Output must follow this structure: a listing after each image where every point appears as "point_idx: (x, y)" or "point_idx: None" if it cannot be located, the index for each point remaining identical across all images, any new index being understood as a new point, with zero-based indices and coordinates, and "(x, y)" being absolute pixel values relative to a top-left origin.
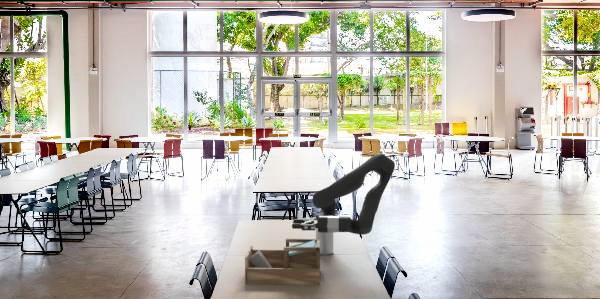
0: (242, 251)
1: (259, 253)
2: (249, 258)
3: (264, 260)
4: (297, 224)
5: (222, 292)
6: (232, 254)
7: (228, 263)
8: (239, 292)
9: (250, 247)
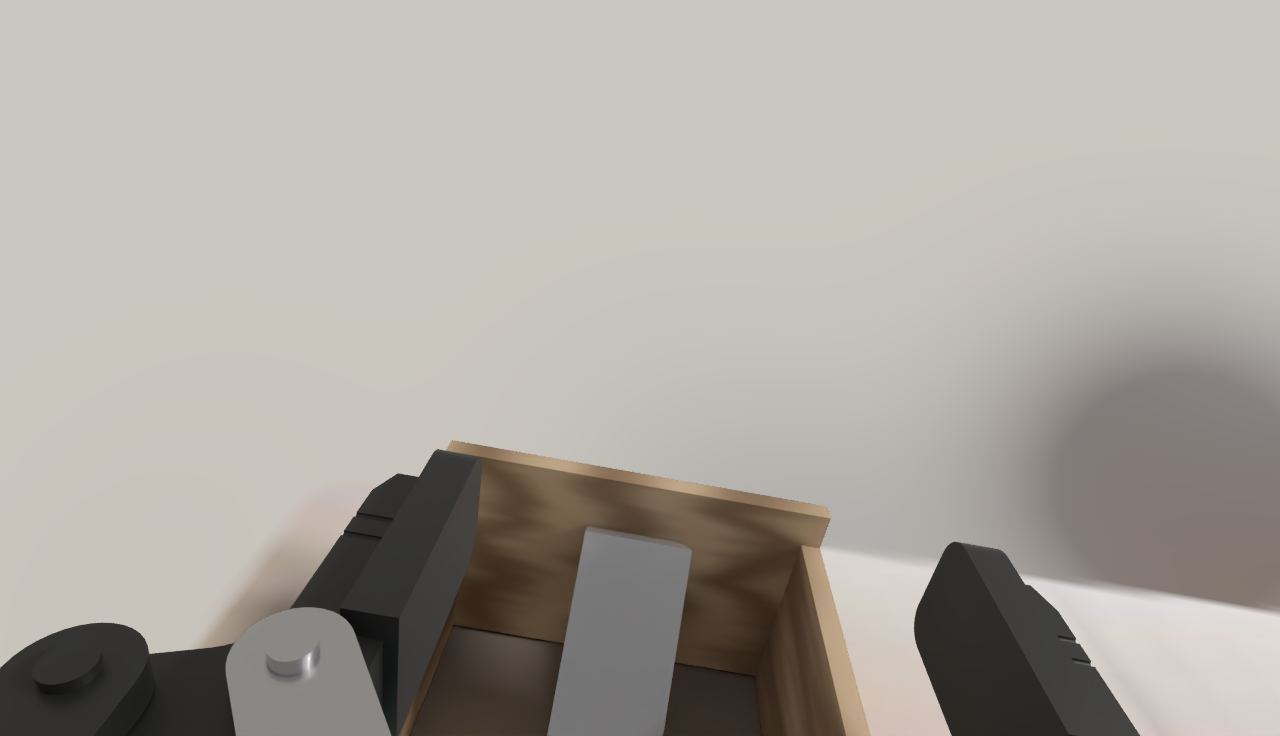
0: (1173, 643)
1: (609, 551)
2: (588, 520)
3: (586, 638)
4: (384, 550)
5: (326, 497)
6: (1066, 586)
7: (875, 556)
8: (275, 569)
9: (751, 498)
